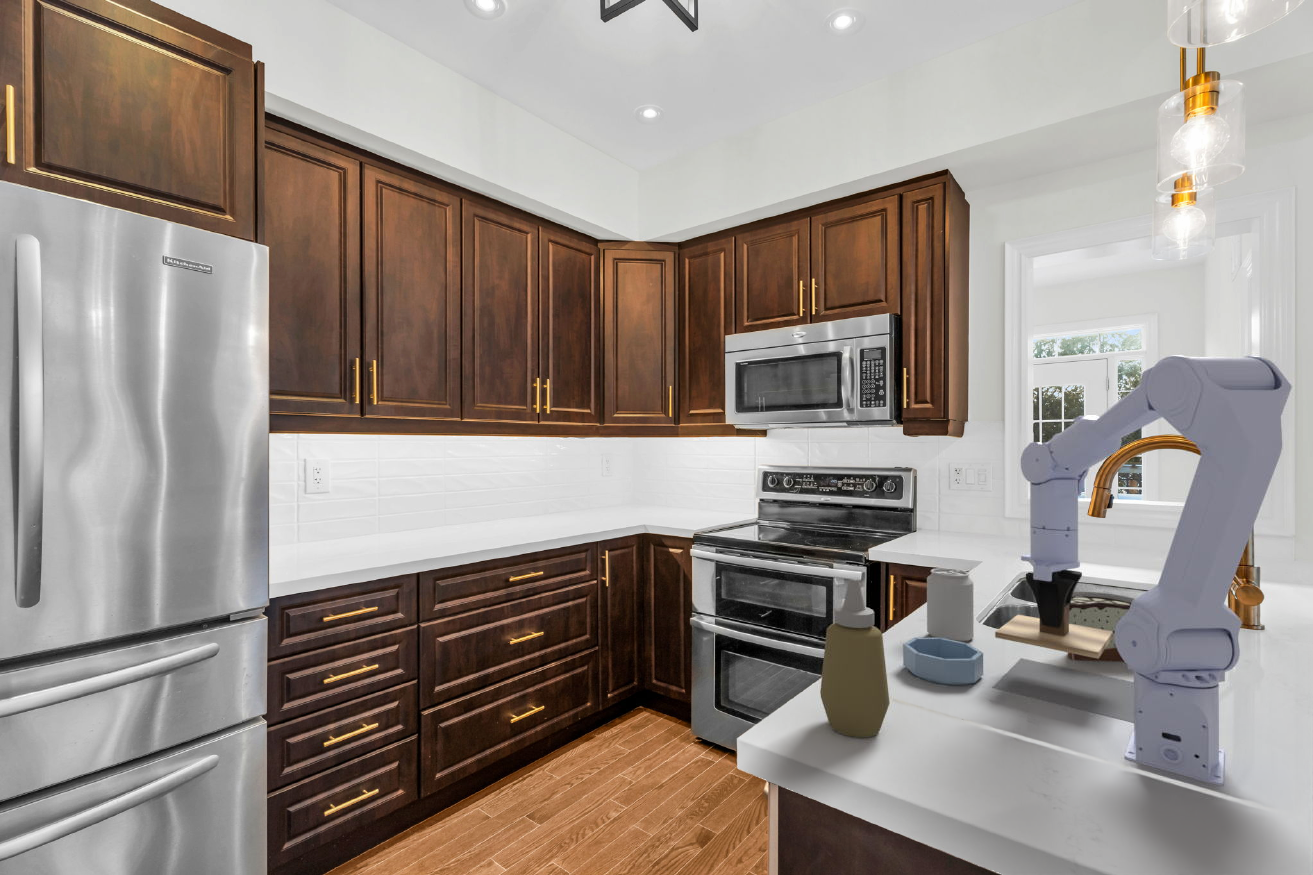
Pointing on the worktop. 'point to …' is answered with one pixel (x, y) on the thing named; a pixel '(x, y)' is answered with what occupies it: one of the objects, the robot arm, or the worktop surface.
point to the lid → (1056, 635)
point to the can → (950, 605)
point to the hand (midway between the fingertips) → (1054, 623)
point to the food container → (1099, 618)
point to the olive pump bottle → (854, 669)
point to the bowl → (943, 660)
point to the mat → (1071, 688)
